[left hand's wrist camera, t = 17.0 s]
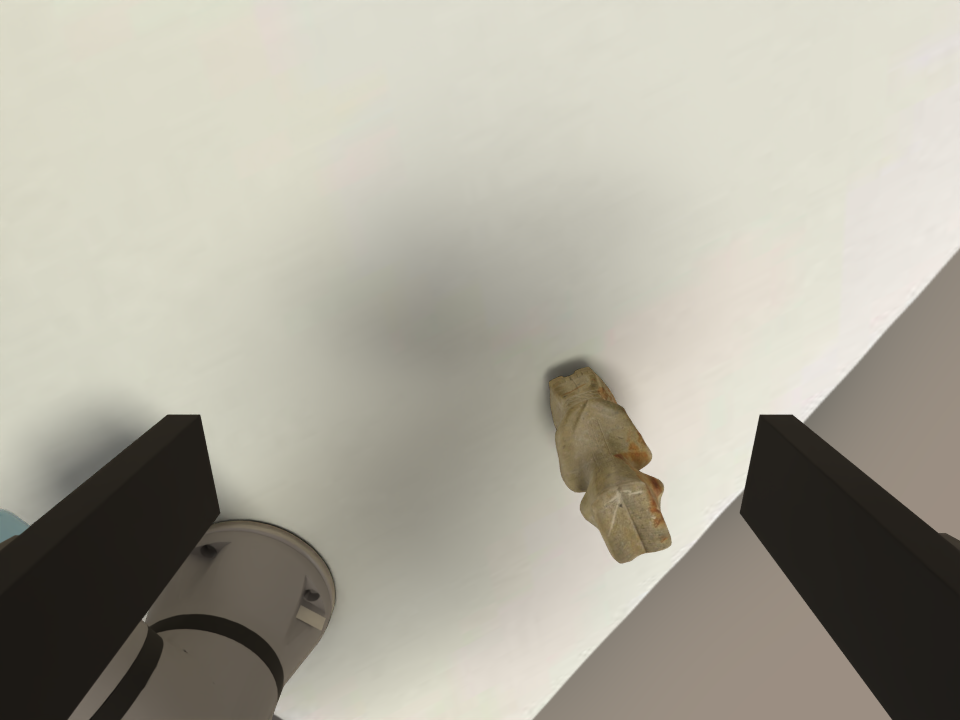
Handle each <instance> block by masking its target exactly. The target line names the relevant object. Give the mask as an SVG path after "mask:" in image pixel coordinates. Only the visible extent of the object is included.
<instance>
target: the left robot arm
mask: <svg viewBox="0 0 960 720" xmlns="http://www.w3.org/2000/svg"><path fill="white" fill-rule="evenodd" d="M219 514H220V509H219V504H218V499H217V495H216V490H215V485H214V480H213V475H212V470H211V465H210V460H209V455H208V450H207V445H206V440H205V436H204V431H203V426H202V421H201V416H200V415H167V416H165V417H164V418H163V419H162V420H160V421H159V422H158V423H157V424H155V425H154V426H153V427H152V428H151V429H149V430H148V431H147V432H146V433H144V434H143V435H142V436H141V437H139V438H138V439H137V440H136V441H135V442H133V443H132V444H131V445H130V446H128V447H127V448H126V449H125V450H123V451H122V452H121V453H120V454H119V455H117V456H116V457H115V458H114V459H112V460H111V461H110V462H109V463H107V464H106V465H105V466H104V467H103V468H101V469H100V470H99V471H98V472H96V473H95V474H94V475H93V476H91V477H90V478H89V479H88V480H87V481H85V482H84V483H83V484H82V485H80V486H79V487H78V488H77V489H75V490H74V491H73V492H72V493H71V494H69V495H68V496H67V497H66V498H64V499H63V500H62V501H61V502H59V503H58V504H57V505H56V506H55V507H53V508H52V509H51V510H50V511H48V512H47V513H46V514H45V515H43V516H42V517H41V518H40V519H38V520H37V521H36V522H35V523H34V524H32V525H31V526H29V525H28V524H27V523H25V522H24V521H23V520H21V519H20V518H19V517H17V516H16V515H15V514H13V513H11V512H9V511H7V510H4V509H0V720H271V719H272V716H273V714H274V711H275V708H276V705H277V702H278V700H279V697H280V694H281V692H282V689H283V687H284V685H285V684H286V683H287V681H288V680H289V679H290V678H291V676H292V675H293V674H294V672H295V671H296V670H297V669H298V667H299V666H300V665H301V664H302V662H303V661H304V660H305V659H306V657H307V656H308V655H309V654H310V652H311V651H312V650H313V649H314V647H315V646H316V645H317V643H318V642H319V641H320V639H321V637H322V635H323V634H324V632H325V630H326V628H327V626H328V623H329V621H330V618H331V615H332V612H333V608H334V604H335V587H334V583H333V579H332V576H331V574H330V571H329V570H328V568H327V566H326V564H325V563H324V561H323V560H322V559H321V557H320V556H319V555H318V554H317V553H316V552H315V551H314V550H313V549H312V548H311V547H310V546H309V545H308V544H306V543H305V542H304V541H302V540H301V539H299V538H298V537H296V536H294V535H293V534H291V533H289V532H287V531H285V530H282V529H280V528H277V527H275V526H271V525H268V524H264V523H259V522H253V521H225V522H220V523H215V524H213V522H214V521H215V519H216V518H217V517H218V515H219ZM740 514H741V515H742V517H743V518H744V519H745V521H746V522H747V524H748V525H749V526H750V528H751V529H752V530H753V532H754V533H755V534H756V536H757V537H758V538H759V540H760V541H761V542H762V544H763V545H764V547H765V548H766V549H767V551H768V552H769V553H770V555H771V556H772V557H773V559H774V560H775V561H776V563H777V564H778V566H779V567H780V568H781V570H782V571H783V572H784V574H785V575H786V576H787V578H788V579H789V580H790V582H791V583H792V584H793V586H794V587H795V589H796V590H797V591H798V593H799V594H800V595H801V597H802V598H803V599H804V601H805V602H806V603H807V605H808V606H809V608H810V609H811V610H812V612H813V613H814V614H815V616H816V617H817V618H818V620H819V621H820V622H821V624H822V625H823V626H824V628H825V629H826V631H827V632H828V633H829V635H830V636H831V637H832V639H833V640H834V641H835V643H836V644H837V645H838V647H839V648H840V650H841V651H842V652H843V654H844V655H845V656H846V658H847V659H848V660H849V662H850V663H851V664H852V666H853V667H854V668H855V670H856V671H857V673H858V674H859V675H860V677H861V678H862V679H863V681H864V682H865V683H866V685H867V686H868V687H869V689H870V690H871V692H872V693H873V694H874V696H875V697H876V698H877V700H878V701H879V702H880V704H881V705H882V706H883V708H884V709H885V711H886V712H887V713H888V715H889V716H890V717H891V719H892V720H960V541H959V540H957V539H956V538H954V537H952V536H950V535H948V534H946V533H938V532H936V531H935V530H934V529H933V528H931V527H930V526H929V525H928V524H926V523H925V522H924V521H923V520H922V519H920V518H919V517H918V516H917V515H915V514H914V513H913V512H912V511H910V510H909V509H908V508H907V507H905V506H904V505H903V504H902V503H901V502H899V501H898V500H897V499H896V498H894V497H893V496H892V495H891V494H889V493H888V492H887V491H886V490H884V489H883V488H882V487H881V486H880V485H878V484H877V483H876V482H875V481H873V480H872V479H871V478H870V477H868V476H867V475H866V474H865V473H864V472H862V471H861V470H860V469H859V468H857V467H856V466H855V465H854V464H853V463H851V462H850V461H849V460H848V459H846V458H845V457H844V456H843V455H841V454H840V453H839V452H838V451H837V450H835V449H834V448H833V447H832V446H830V445H829V444H828V443H827V442H825V441H824V440H823V439H822V438H821V437H819V436H818V435H817V434H815V433H814V432H813V431H812V430H811V429H809V428H808V427H807V426H806V425H805V424H803V423H802V422H801V421H800V420H798V419H797V418H796V417H795V416H793V415H760V416H759V421H758V426H757V431H756V436H755V440H754V445H753V450H752V455H751V460H750V465H749V470H748V475H747V480H746V485H745V490H744V495H743V499H742V504H741V510H740ZM148 610H149V611H148ZM147 612H148V615H147V618H146V621H145V622H143V621H142V618H143V617H144V616H145V614H146V613H147Z"/></svg>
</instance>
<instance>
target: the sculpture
mask: <svg viewBox="0 0 960 720" xmlns="http://www.w3.org/2000/svg"><path fill="white" fill-rule="evenodd" d="M549 387H550V406H551V412H552V417H553V421H554V424H555V427H556V430H557V431H556V434H555V442H556V448H557V453H558V457H559V464H560V472H561V476H562V478H563V481H564V482H565V484H566V485H567V486H568V488H569V489H571V490H572V491H574V492H586V493H585V495H584V497H583V499H582V501H581V504H580V511H581V513H582V515H583V516H584V518H585V519H586V520H587V521H589V522H590V523H592V524H593V525H594V526H595V527H597V528H598V529H599V531H600V533H601V535H602V537H603V539H604V541H605V543H606V546H607V548H608V550H609V552H610V553H611V555H612V557H613V558H614V559H615V560H616V561H617V562H619V563H625V562H630V561H632V560H633V559H635V558H636V557H637V556H639V555H641V554H644V553H650V552H657V551H660V550H664V549H666V548H668V547H669V546H671V543H672V542H671V536H670V534H669V531H668V528H667V526H666V523H665V521H664V518H663V516H662V513H661V510H660V501H661V496H662V494H663V491H664V485H663V483H662V482H661V481H660V480H659V479H656V478H654V477H652V476H649V475H647V474H644V473H642V472H640V471H639V470H640V469H642V468H643V467H645V466H646V465H647V464H648V463H649V462H650V461H651V459H652V453H651V451H650V449H649V448H648V446H647V445H646V443H645V442H644V440H643V438H642V436H641V434H640V433H639V432H638V430H637V429H636V427H635V426H634V424H633V423H632V421H631V419H630V418H629V417H628V415H627V413H626V411H625V409H624V408H623V407H622V406H620V405H618V404H617V402H616V400H615V398H614V396H613V394H612V393H611V391H610V390H609V388H608V387H607V386H606V385H605V383H604V382H603V381H602V380H601V378H600V377H599V376H598V375H597V374H596V373H594V372H593V371H592V369H591V368H589V367H585V368H581V369H578V370H576V371H575V372H574V374H573V375H570V376H567V377H563V376H559V377H557V378H555V379H553V380H551V381H549Z"/></svg>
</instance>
